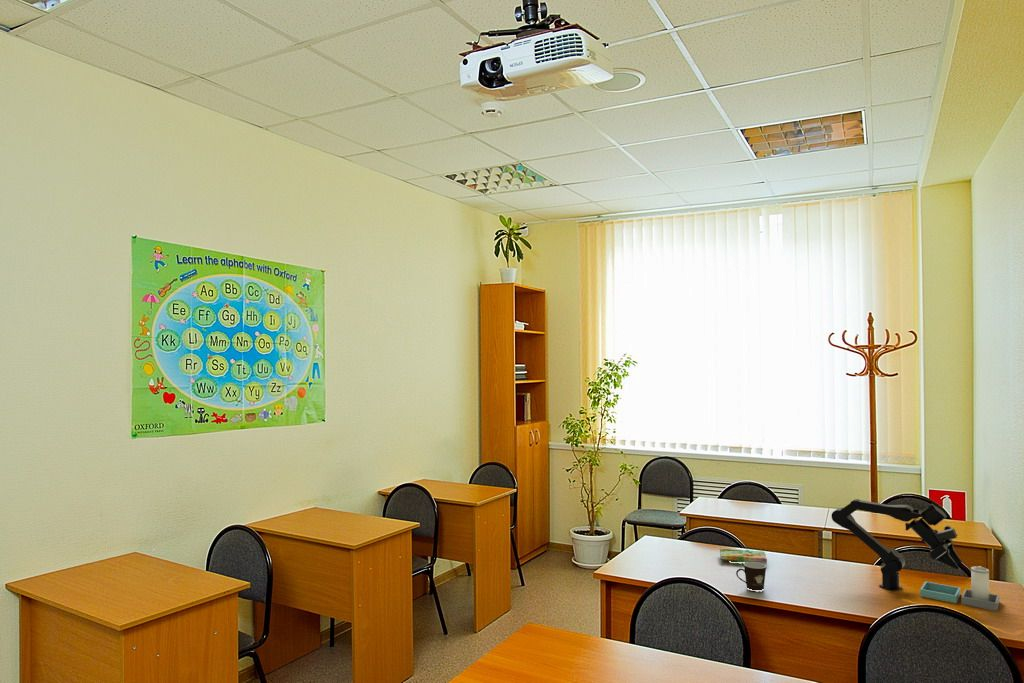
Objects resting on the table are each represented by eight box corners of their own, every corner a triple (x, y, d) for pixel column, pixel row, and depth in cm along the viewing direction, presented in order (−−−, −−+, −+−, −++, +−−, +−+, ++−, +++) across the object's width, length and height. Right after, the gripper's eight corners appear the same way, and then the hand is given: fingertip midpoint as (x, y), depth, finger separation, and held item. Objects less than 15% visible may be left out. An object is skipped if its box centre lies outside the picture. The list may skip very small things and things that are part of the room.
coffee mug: (766, 587, 281) (766, 563, 281) (766, 594, 272) (766, 569, 273) (736, 584, 284) (736, 560, 285) (736, 591, 276) (736, 566, 276)
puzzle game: (766, 557, 307) (720, 553, 313) (766, 567, 307) (720, 564, 313) (764, 550, 319) (719, 546, 324) (764, 560, 318) (720, 556, 324)
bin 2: (996, 612, 252) (996, 603, 252) (961, 605, 259) (961, 596, 259) (999, 604, 261) (999, 595, 261) (965, 597, 268) (965, 588, 268)
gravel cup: (984, 607, 256) (984, 569, 256) (968, 602, 261) (967, 565, 261) (992, 604, 259) (992, 567, 259) (976, 599, 264) (975, 563, 264)
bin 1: (956, 605, 260) (956, 596, 260) (920, 598, 268) (920, 589, 268) (960, 596, 269) (960, 587, 269) (925, 590, 277) (925, 581, 277)
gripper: (938, 525, 261) (974, 559, 254) (945, 515, 276) (979, 548, 268) (915, 542, 266) (949, 576, 259) (923, 532, 280) (956, 564, 273)
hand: (959, 565), depth 265 cm, fingers open, 9 cm apart
